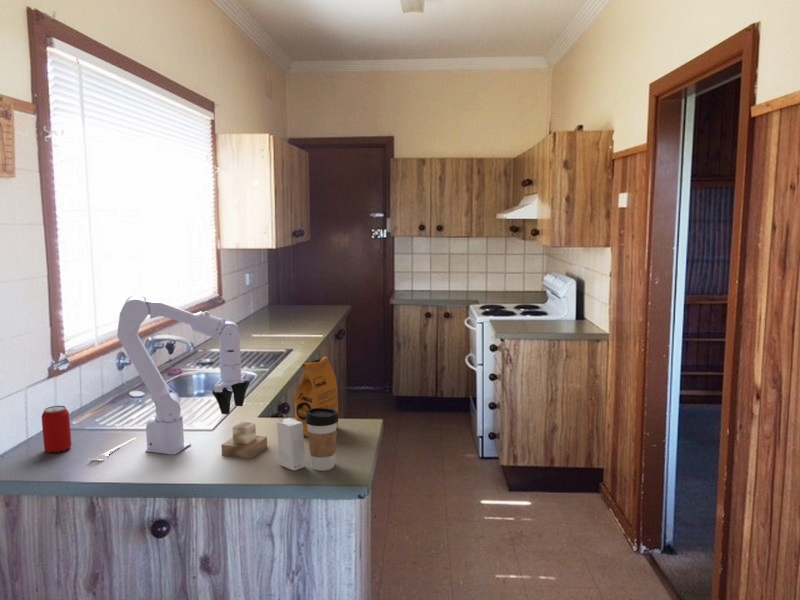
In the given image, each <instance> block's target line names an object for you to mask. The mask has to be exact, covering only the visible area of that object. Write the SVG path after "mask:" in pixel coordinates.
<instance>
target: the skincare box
mask: <svg viewBox="0 0 800 600" xmlns="http://www.w3.org/2000/svg"><path fill="white" fill-rule="evenodd" d="M276 429H277V431H276V432H277V443H278V455H279V456H278V457H279V458H278V459H279V465H280V466H282V467H284V468H287V469H288V470H291V471H293V472H294V471H297V470H300V469H302V468H305V467H306V455H305V453H306V452H305V436H304V435H303V423H302V422H299V421H296V420H295V419H294V418H290V417H288V418H284V419H281V420H278V421H276Z"/></svg>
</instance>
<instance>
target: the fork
mask: <svg viewBox="0 0 800 600" xmlns="http://www.w3.org/2000/svg"><path fill="white" fill-rule="evenodd" d="M134 439H135V440H137V437H134V438H132V439H130V440H127V441H126V442H124V443H121V444H119V445H118V446H115V447H114V448H111V449H109V450H108V451H106V452H104V453H102V454H101V455H105V456H109V454H110V455H111V454H113V453H115V452H116V451H115V450H117V449H118V448H120V447H122V446H123V445H125V444H127V443H128V444H130V443H131V442H133V441H135V440H134ZM132 440H133V441H132ZM130 441H131V442H130ZM129 442H130V443H129ZM128 444H127V445H128ZM125 446H126V445H125ZM123 447H124V446H123ZM123 447H122V448H123ZM120 449H121V448H120ZM118 450H119V449H118ZM118 450H117V451H118ZM114 451H115V452H114ZM112 452H113V453H112ZM87 460H89V461H99V462H101V461H102V462H104V461H103V459H102V460H101V459H95V458H87Z"/></svg>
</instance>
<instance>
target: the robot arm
mask: <svg viewBox="0 0 800 600" xmlns="http://www.w3.org/2000/svg"><path fill="white" fill-rule="evenodd" d="M148 316H149V319H155V318H159V317H164V318H166V319H170V320H174V321H176V322H180V323H183V324H187V325H188V326H190V327H191V329H192V331H193V332H195V333H199V334H202V335H205V336H207V337H210V338H213V339H219V351H218V352H219V370H220V372H219V373H220V378H219V380H218V381H217V382H216V383H215V384H214V385H213V388H214V389H213V390H212V391H211V392H212V393H211V395H213V396H214V398H215V400H216V402H217V404H218V406H219V411H220V413H221V415H229V414H230V411H231V410H230V409H231V399H232V396H233V401H234V405H235V406H236V407H243V406H244V402H245V398H246V397H245V396H246V394H247V393H246V392H247V390H248V388H249V386H250V384H251V383H250V380H248V372H245V371H244V372H242V365H241V362H242V361H241V358H242V357H241V346H240V345H241V344H240V339H241V337H242V333H241V329H240V328H239V326H238V325H237V324H236V323H235V322H234V321H232V320H231V319H227V318H225V317H222V318H221V317H217V316H214V315H213V314H211V313H210V312H209V311H208V310H205V311H198V312H196V313H192V312H190V311H187V310H185V309H182V308H179V307H177V306H174V305H172V304H170V303H167V302H165V301H162V300H158V299H155V298H152V297H148V296H147V297H145V296H143V295H141V294H140V295H139V294H135V295H134V294H133V295H131V296H129V297H128V298H127V299H126V301H125V303H124V304H123V306H122V308H121V311H120V312H119V316H118V325H117V334H116V335H117V340H119V342H120V344H121V346H122V347H123V349H124V351H125V352H126V355H128V357H129V359H130V360H131V362H132V364H133V366H134V368H135V369H136V371H137V373H138V375H139V376H140V378H141V380H142V382H143V383H144V384H145V386H146V389H147V390H148V392H149V394H150V397H151V399H152V402H153V403H154V405H155V414H156V415H155V416H152V417H150V418H149V419H148V420H147V423H146V428H145V434H146V449H145V452H149V453H156V454H157V453H158V454H166V455H172V456H174V455H176V454H178V453H179V452H182V451H183V450H184V449H186V448H187V447H190V446H191V444H192V443H191V442H185V436H184V417H183V416H184V415H183V413H181V410H182V409H181V406H180V405H181V403H180V402H181V398H180V396H179V394H178V393H177V392H176V391H174V390H173V389H171V387H170V386H169V384H168V383H167V382H166V381H165V379H164V378H163V375H161V372H160V370H159V369H158V367H157V365H156V363H155V361H154V360H153V358H152V356H151V354H150V353H149V351H148V349H147V348H146V346H145V344H144V342H143V341H142V339H141V337H140V335H139V334H138V332H139V329H140V327H141V325H142V323H143V322H144V321H145V320H146V319H147V317H148ZM229 387H231V390H228V388H229Z"/></svg>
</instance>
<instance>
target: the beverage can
mask: <svg viewBox="0 0 800 600" xmlns="http://www.w3.org/2000/svg"><path fill="white" fill-rule="evenodd" d="M41 425H42V426H41V427H42V437H43V438H42V439H43V447H44V451H46V452H48V453H50V452H59V453H61V452H60V451H63V452H65V451H64V450H66V449H67V450H68V449H70V448H71V446H72V433H71V419H70V412H69V410H68V409H67V407H66V406H65V405H53V406H48V407H45V408H44V409H43V412H42V414H41ZM67 450H66V451H67Z"/></svg>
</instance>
